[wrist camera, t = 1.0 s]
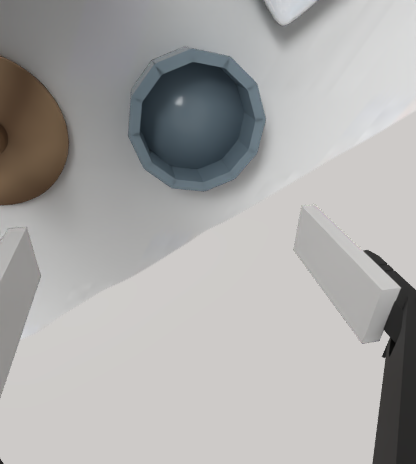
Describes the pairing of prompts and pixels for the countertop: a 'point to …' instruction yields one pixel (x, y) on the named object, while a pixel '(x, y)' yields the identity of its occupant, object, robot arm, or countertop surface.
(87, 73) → the countertop surface
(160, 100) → the bowl
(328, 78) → the countertop surface
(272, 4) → the salad plate
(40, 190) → the lid
